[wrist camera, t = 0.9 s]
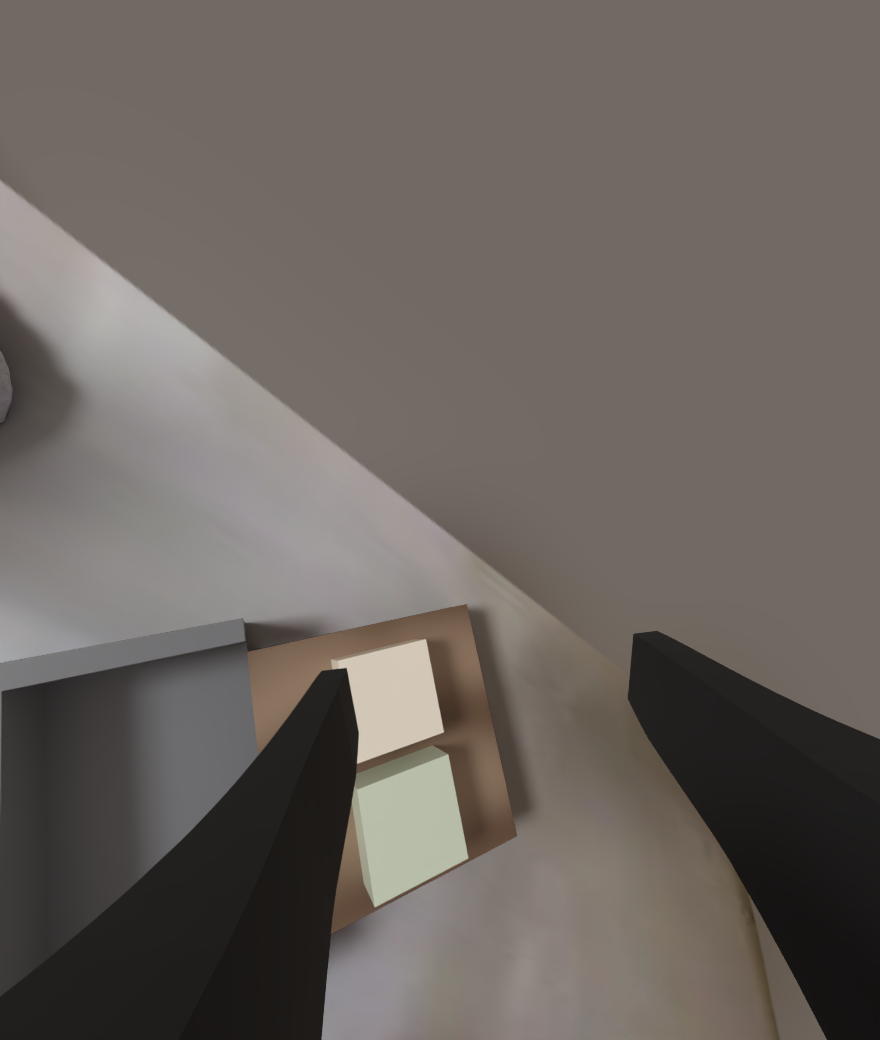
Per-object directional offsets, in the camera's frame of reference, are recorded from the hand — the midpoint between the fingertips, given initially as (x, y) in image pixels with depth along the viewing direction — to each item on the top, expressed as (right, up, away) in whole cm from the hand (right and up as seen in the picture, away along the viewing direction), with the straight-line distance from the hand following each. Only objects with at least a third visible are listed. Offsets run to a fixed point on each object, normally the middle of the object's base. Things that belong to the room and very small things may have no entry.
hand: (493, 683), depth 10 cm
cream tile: (-4, -5, +11) cm, 13 cm away
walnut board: (-5, -8, +13) cm, 16 cm away
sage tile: (-3, -10, +10) cm, 15 cm away
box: (-14, -9, +9) cm, 19 cm away
